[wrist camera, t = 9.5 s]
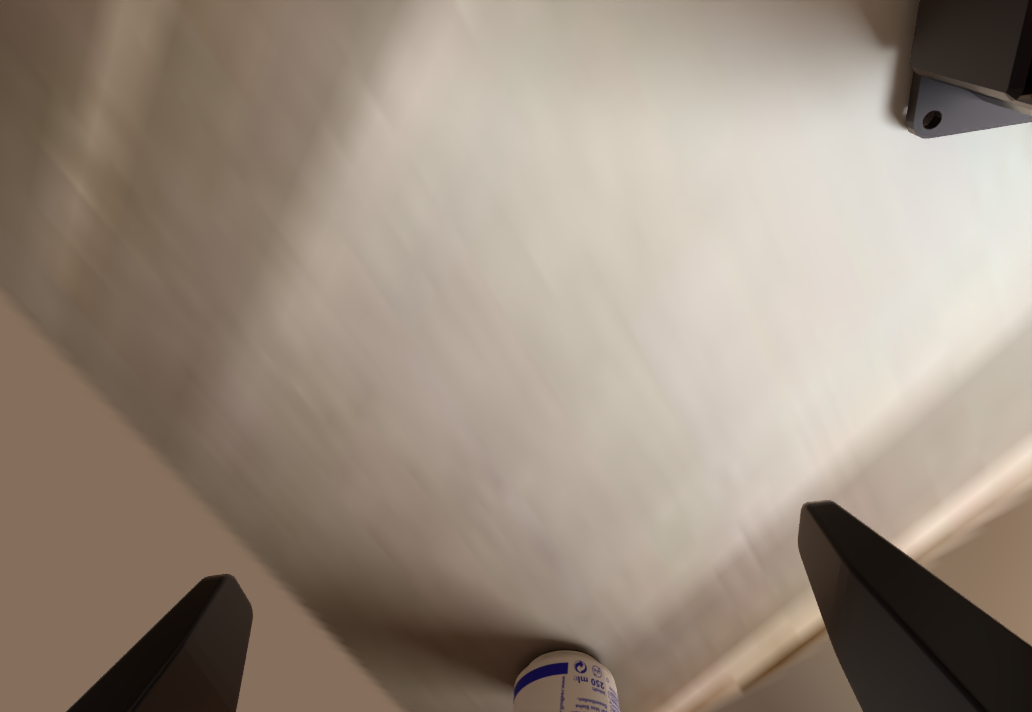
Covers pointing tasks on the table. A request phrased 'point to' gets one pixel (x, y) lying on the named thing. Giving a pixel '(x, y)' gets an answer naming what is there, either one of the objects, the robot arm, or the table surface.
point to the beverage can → (565, 685)
